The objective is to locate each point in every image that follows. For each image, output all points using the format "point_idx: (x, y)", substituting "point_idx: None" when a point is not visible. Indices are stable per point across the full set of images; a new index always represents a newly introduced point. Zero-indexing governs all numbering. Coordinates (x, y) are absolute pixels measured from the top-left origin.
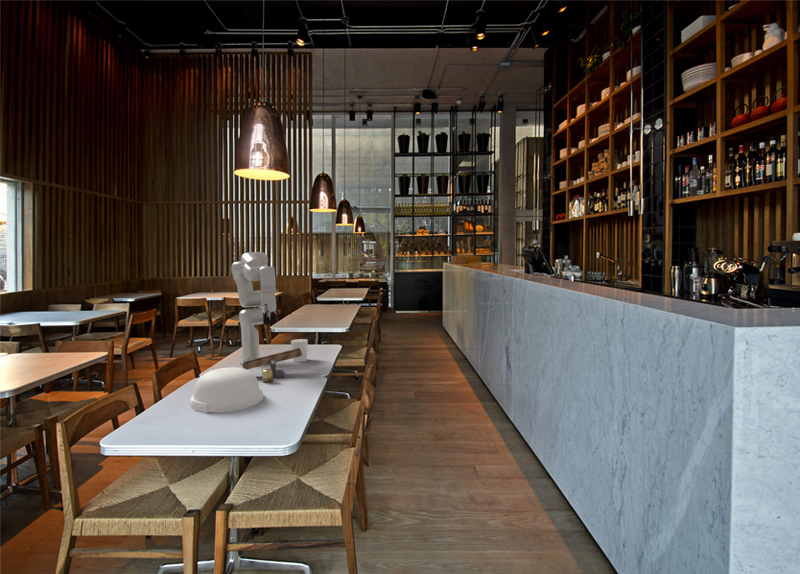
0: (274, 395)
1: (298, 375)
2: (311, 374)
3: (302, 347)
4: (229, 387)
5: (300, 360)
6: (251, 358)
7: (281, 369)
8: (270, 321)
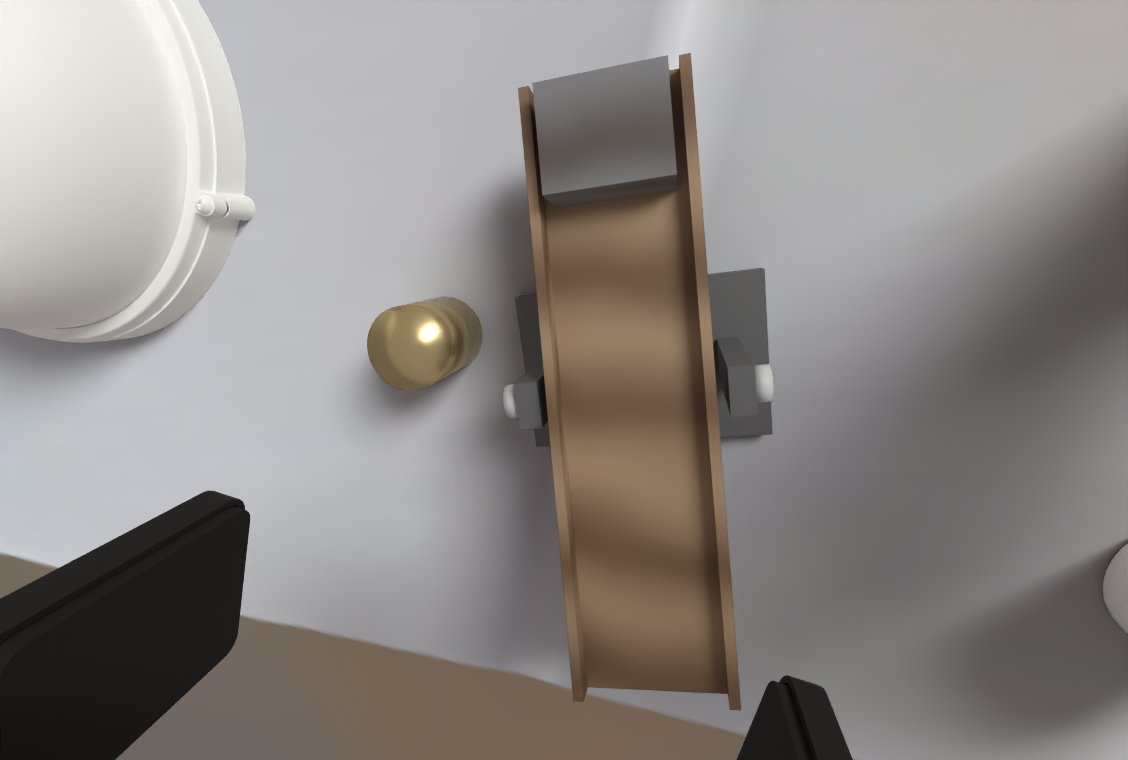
0: (160, 396)
1: None
2: None
3: None
4: None
5: (1111, 593)
6: (633, 163)
7: (742, 426)
8: (775, 694)
